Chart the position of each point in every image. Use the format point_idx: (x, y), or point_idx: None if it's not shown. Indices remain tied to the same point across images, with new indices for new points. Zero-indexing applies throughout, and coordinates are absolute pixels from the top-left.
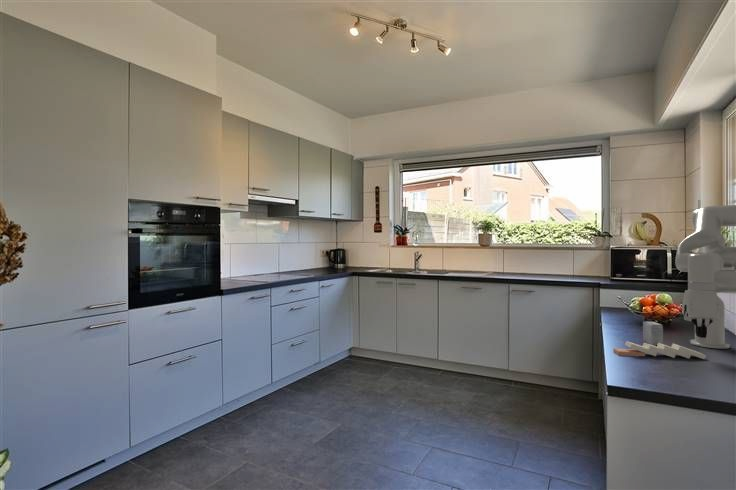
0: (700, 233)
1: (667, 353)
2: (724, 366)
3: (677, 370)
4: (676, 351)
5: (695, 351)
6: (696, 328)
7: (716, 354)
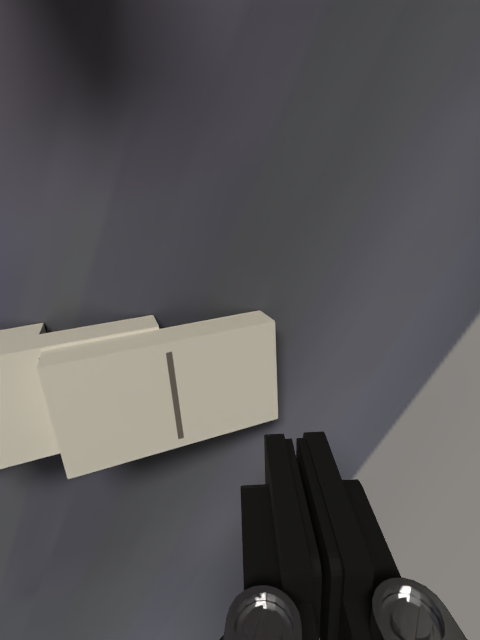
0: None
1: None
2: None
3: (13, 637)
4: None
5: (212, 416)
6: (248, 576)
7: (467, 202)
